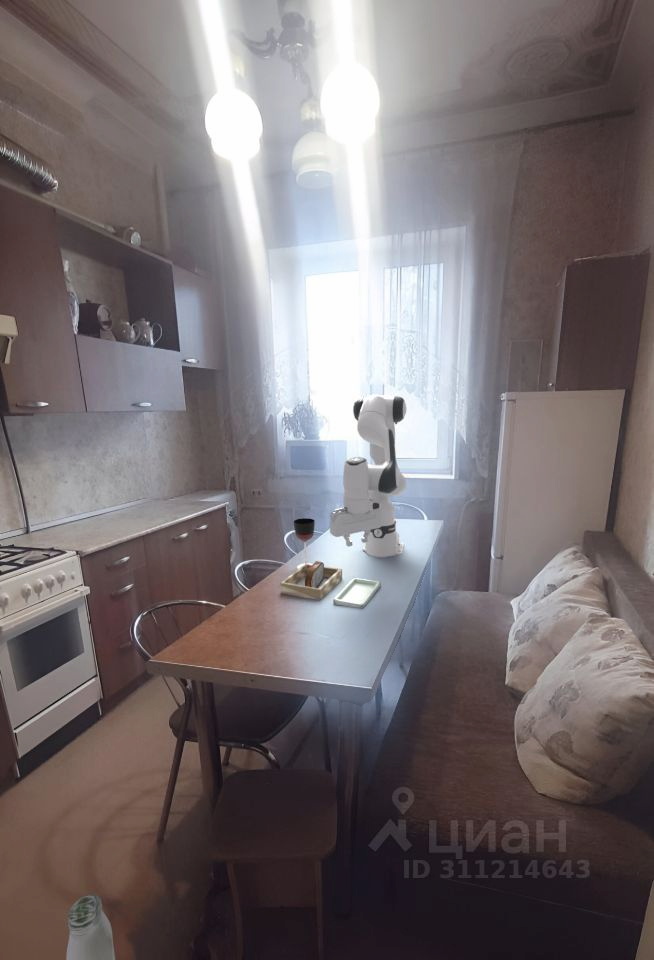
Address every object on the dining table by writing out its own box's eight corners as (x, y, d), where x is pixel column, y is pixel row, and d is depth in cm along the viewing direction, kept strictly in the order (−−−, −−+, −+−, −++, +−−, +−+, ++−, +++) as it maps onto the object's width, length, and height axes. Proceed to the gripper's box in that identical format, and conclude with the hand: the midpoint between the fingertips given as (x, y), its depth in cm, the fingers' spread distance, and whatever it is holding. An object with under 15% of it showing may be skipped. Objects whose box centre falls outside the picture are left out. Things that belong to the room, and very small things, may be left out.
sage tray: (353, 583, 166) (353, 577, 166) (380, 587, 162) (380, 581, 161) (333, 605, 148) (333, 599, 148) (362, 611, 144) (362, 604, 144)
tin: (318, 577, 172) (317, 557, 171) (325, 578, 171) (325, 558, 170) (304, 594, 158) (303, 572, 157) (312, 595, 157) (311, 573, 156)
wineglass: (313, 571, 179) (312, 524, 175) (293, 569, 180) (291, 523, 177) (318, 563, 186) (316, 518, 183) (298, 562, 188) (296, 518, 184)
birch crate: (305, 573, 177) (305, 563, 176) (342, 578, 170) (342, 569, 170) (280, 593, 159) (280, 583, 158) (320, 600, 152) (320, 589, 152)
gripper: (336, 511, 141) (337, 552, 143) (385, 502, 151) (385, 540, 154) (325, 508, 146) (326, 547, 149) (374, 499, 157) (374, 536, 159)
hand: (357, 544), depth 151 cm, fingers open, 5 cm apart
